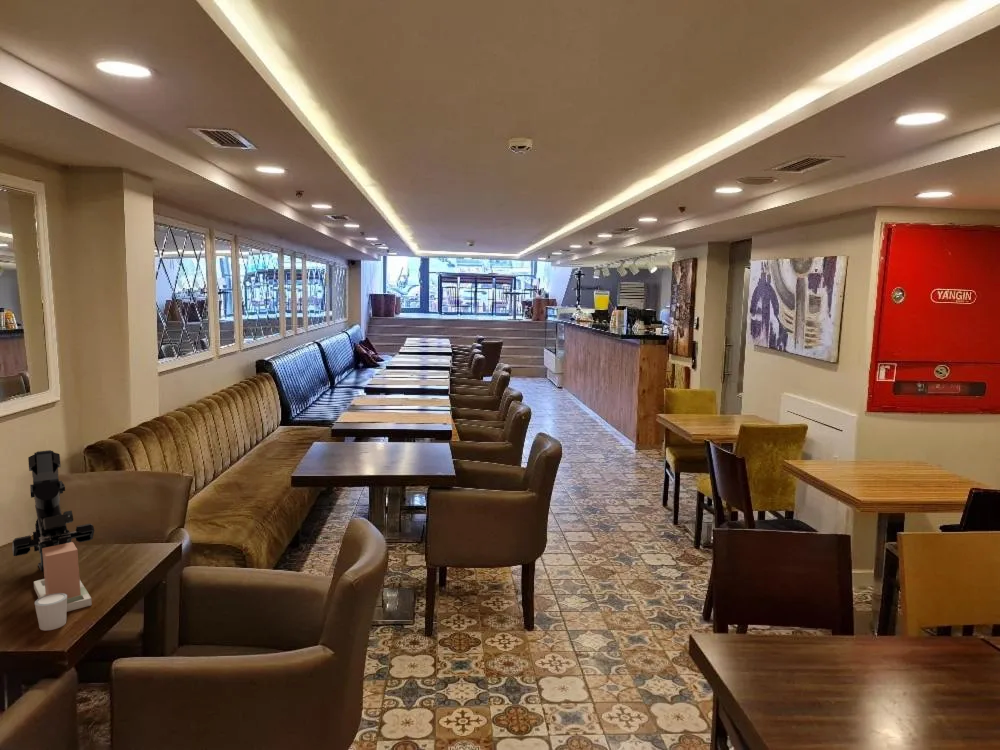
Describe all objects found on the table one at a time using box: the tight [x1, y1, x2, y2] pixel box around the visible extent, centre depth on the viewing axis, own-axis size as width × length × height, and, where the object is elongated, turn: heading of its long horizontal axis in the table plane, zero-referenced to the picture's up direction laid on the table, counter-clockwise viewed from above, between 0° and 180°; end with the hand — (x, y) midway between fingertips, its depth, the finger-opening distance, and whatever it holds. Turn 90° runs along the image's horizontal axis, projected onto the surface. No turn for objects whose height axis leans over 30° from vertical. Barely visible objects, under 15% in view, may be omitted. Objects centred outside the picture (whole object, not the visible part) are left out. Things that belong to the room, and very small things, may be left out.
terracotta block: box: [42, 541, 81, 599], centre depth 175 cm, size 7×7×13 cm
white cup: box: [34, 593, 67, 631], centre depth 163 cm, size 7×7×7 cm
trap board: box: [33, 578, 93, 612], centre depth 179 cm, size 22×10×2 cm, turn 43°
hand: (59, 566), depth 178 cm, fingers closed
